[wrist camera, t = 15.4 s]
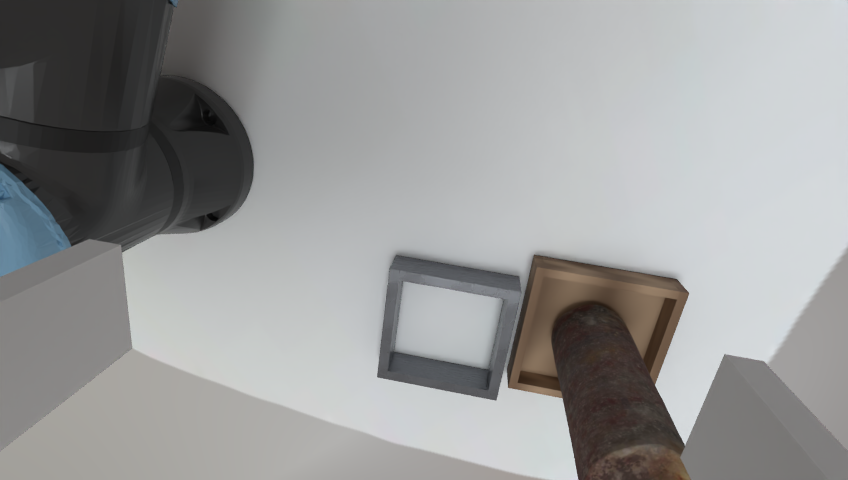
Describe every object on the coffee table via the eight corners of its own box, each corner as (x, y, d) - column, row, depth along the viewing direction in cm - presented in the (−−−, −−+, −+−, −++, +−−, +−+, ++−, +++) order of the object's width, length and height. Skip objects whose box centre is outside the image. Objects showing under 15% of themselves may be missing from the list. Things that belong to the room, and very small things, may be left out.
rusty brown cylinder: (531, 328, 48) (558, 496, 29) (588, 283, 45) (658, 433, 26) (583, 376, 49) (641, 566, 30) (641, 334, 46) (744, 513, 27)
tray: (507, 370, 50) (508, 387, 48) (534, 254, 46) (536, 267, 43) (635, 394, 49) (643, 413, 47) (676, 279, 45) (689, 293, 42)
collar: (384, 357, 52) (377, 377, 49) (396, 255, 48) (389, 268, 44) (495, 379, 51) (496, 400, 48) (519, 276, 47) (521, 292, 43)
